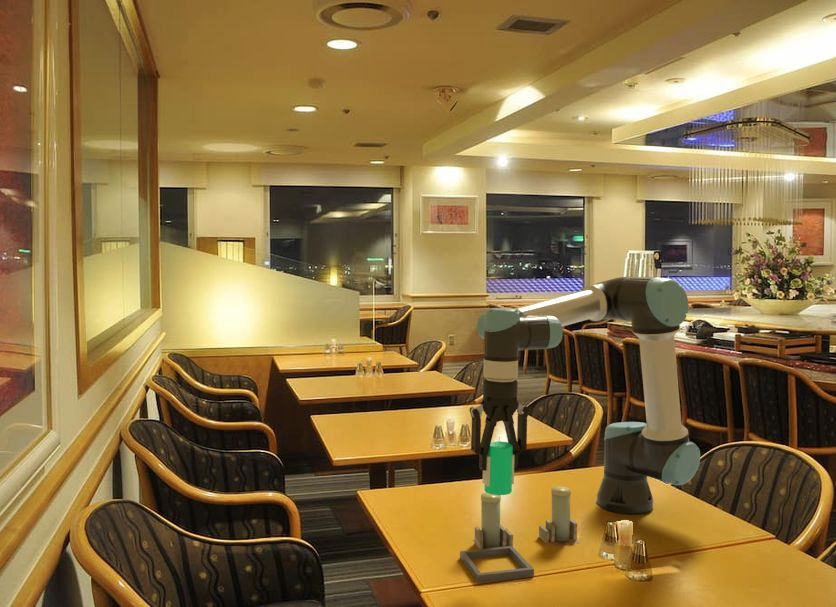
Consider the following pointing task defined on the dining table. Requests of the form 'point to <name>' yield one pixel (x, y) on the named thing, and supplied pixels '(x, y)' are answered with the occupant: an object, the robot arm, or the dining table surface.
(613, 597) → the dining table surface
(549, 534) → the fuse clips
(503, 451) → the candle
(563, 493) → the cream round cylinder
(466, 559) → the tray
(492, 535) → the fuse
